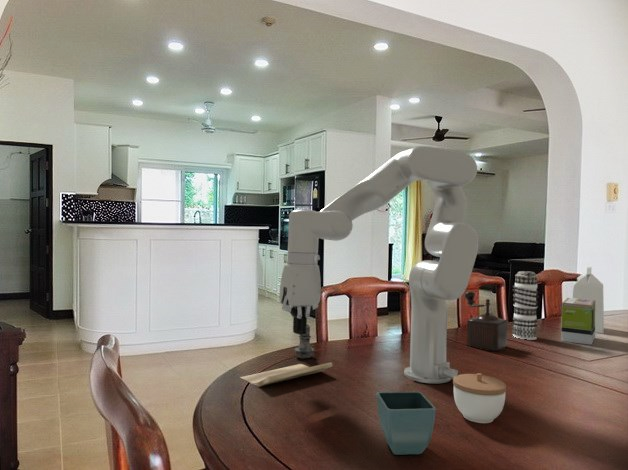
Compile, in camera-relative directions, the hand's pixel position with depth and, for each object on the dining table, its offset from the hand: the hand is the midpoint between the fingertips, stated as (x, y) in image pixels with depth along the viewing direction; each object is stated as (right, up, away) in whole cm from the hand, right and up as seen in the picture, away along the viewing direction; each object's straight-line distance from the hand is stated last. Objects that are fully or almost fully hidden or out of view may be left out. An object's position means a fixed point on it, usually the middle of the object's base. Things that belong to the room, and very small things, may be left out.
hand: (299, 333), depth 114 cm
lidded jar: (+39, -15, -16) cm, 44 cm away
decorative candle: (+84, -15, +61) cm, 105 cm away
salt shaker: (+1, -13, +23) cm, 26 cm away
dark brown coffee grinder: (+62, -15, +48) cm, 80 cm away
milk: (+119, -15, +79) cm, 143 cm away
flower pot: (+20, -15, -31) cm, 39 cm away
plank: (-1, -11, +2) cm, 12 cm away
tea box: (+104, -15, +59) cm, 120 cm away
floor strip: (-6, -13, +7) cm, 16 cm away
